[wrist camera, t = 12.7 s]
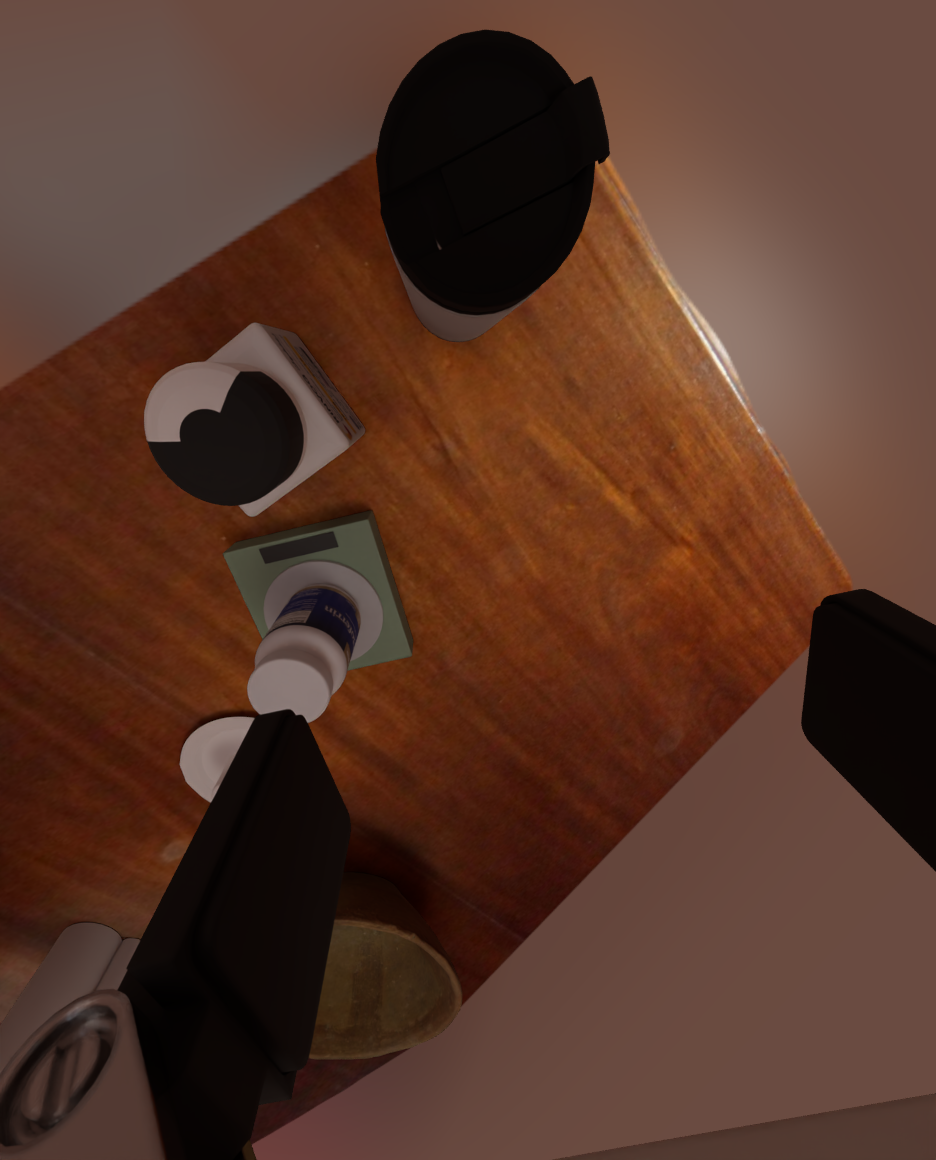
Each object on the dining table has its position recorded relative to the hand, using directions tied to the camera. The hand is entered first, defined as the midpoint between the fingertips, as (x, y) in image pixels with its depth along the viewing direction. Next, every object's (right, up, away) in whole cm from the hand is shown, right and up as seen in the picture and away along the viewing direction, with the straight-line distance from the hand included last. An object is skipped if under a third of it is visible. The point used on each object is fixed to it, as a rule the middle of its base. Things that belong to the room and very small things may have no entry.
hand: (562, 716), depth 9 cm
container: (-14, +14, +25) cm, 32 cm away
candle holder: (-23, -15, +37) cm, 46 cm away
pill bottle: (-13, 0, +28) cm, 31 cm away
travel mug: (-2, +22, +23) cm, 31 cm away
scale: (-13, +1, +30) cm, 33 cm away
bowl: (-14, -34, +46) cm, 58 cm away
